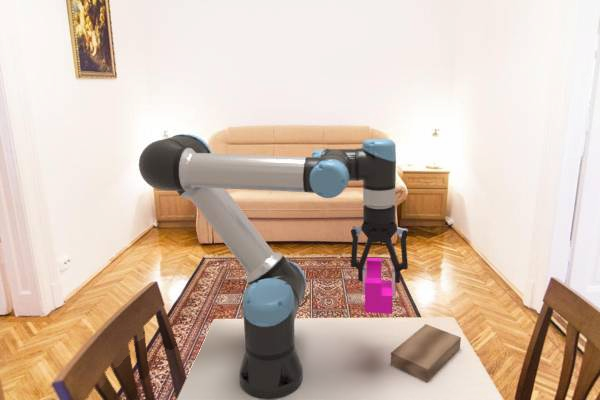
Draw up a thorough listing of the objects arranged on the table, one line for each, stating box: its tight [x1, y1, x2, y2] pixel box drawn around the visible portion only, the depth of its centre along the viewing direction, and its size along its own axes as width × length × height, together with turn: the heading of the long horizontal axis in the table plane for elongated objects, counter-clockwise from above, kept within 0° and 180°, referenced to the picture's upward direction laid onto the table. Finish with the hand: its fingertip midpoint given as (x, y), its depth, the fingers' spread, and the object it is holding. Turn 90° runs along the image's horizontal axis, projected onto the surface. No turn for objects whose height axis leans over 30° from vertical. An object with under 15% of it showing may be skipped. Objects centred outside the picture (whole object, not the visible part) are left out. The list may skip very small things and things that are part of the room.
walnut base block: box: [390, 323, 462, 383], centre depth 112 cm, size 10×18×4 cm, turn 137°
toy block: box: [364, 257, 394, 315], centre depth 107 cm, size 15×6×8 cm, turn 170°
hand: (378, 293), depth 110 cm, fingers closed on toy block, 6 cm apart
